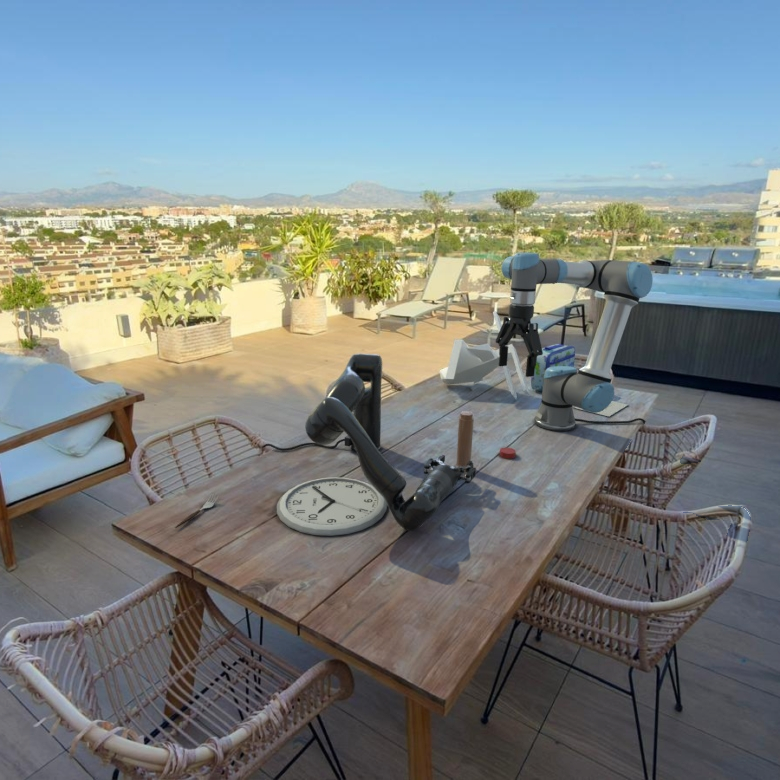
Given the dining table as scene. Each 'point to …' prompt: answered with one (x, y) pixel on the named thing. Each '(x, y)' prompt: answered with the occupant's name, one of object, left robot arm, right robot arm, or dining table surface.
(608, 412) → the invitation card
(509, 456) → the lid
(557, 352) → the lunch box
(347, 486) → the wall clock
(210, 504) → the fork
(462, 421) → the wooden cylinder
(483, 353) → the white plastic object
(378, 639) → the dining table surface
